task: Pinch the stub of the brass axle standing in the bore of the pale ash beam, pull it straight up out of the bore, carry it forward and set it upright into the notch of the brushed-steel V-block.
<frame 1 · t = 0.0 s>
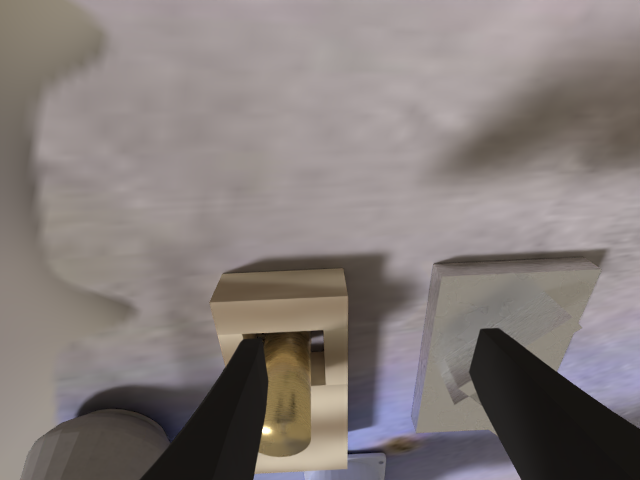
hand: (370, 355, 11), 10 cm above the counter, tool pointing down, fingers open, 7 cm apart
beam: (293, 366, 25), on the counter
v-block: (484, 348, 25), on the counter
coffee pot: (93, 399, 26), on the counter
axle: (289, 328, 23), resting in beam
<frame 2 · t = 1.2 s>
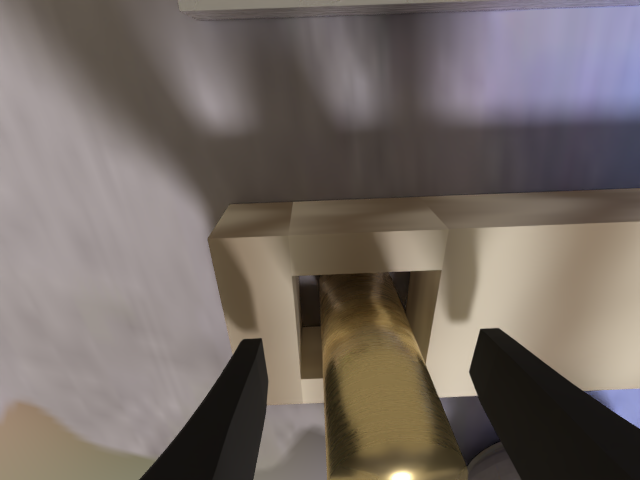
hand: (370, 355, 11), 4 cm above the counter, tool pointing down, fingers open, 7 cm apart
beam: (442, 279, 14), on the counter
coffee pot: (448, 474, 22), on the counter
axle: (354, 282, 14), resting in beam
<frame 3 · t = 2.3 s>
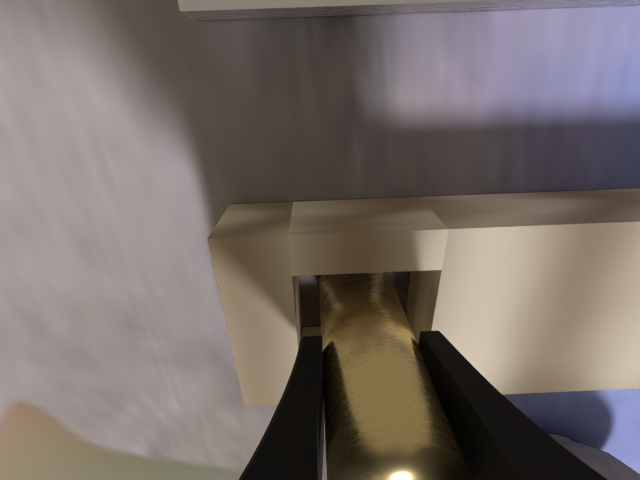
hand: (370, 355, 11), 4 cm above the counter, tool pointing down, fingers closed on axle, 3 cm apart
beam: (442, 279, 14), on the counter
coffee pot: (448, 474, 22), on the counter
axle: (354, 282, 14), resting in beam, touching gripper
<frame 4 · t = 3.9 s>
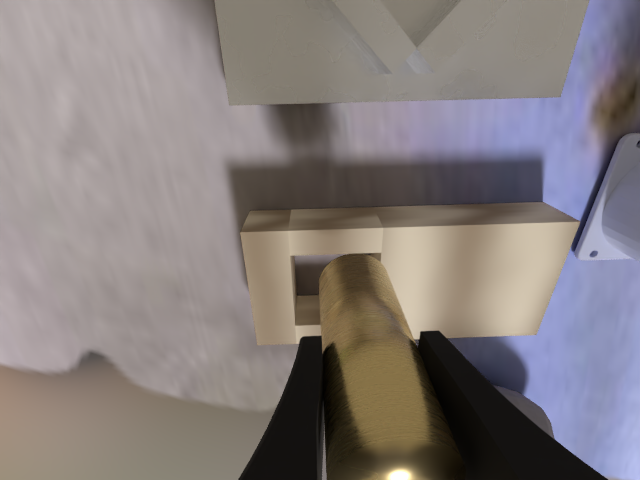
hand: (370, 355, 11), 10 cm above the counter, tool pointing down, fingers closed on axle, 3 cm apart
beam: (392, 262, 21), on the counter
coffee pot: (408, 417, 29), on the counter
axle: (353, 283, 14), point 6 cm above the counter, touching gripper
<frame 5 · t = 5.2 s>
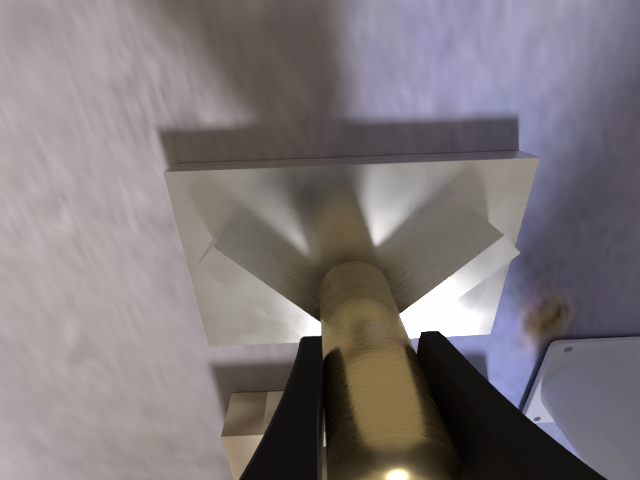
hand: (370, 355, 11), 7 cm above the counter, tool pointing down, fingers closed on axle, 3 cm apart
beam: (359, 423, 24), on the counter
v-block: (347, 250, 17), on the counter
axle: (353, 291, 15), point 3 cm above the counter, touching gripper
when the fingers open (7 cm above the counter, at t = 6.0 s): axle stays where it is, resting on v-block.
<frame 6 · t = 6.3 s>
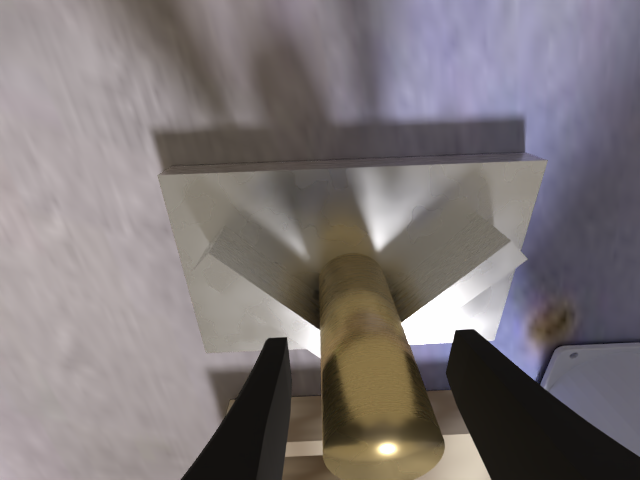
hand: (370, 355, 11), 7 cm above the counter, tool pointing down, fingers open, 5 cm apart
beam: (360, 429, 23), on the counter
v-block: (348, 255, 17), on the counter
axle: (351, 281, 15), point 2 cm above the counter, touching v-block
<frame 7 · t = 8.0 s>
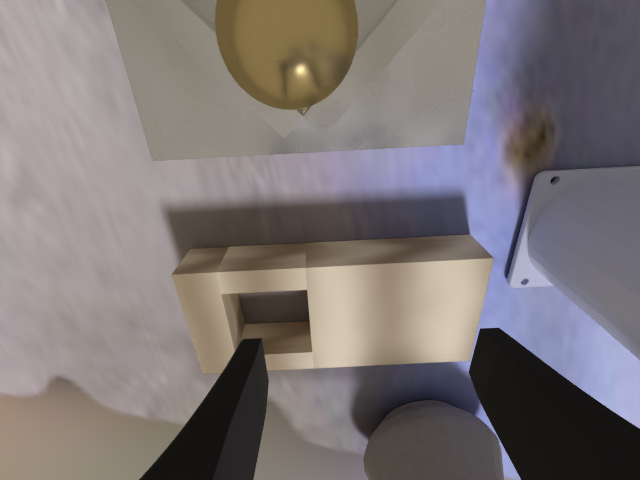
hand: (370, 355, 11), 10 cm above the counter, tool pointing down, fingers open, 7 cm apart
beam: (331, 292, 22), on the counter
v-block: (301, 41, 15), on the counter
coffee pot: (368, 433, 30), on the counter
axle: (300, 54, 14), point 2 cm above the counter, touching v-block
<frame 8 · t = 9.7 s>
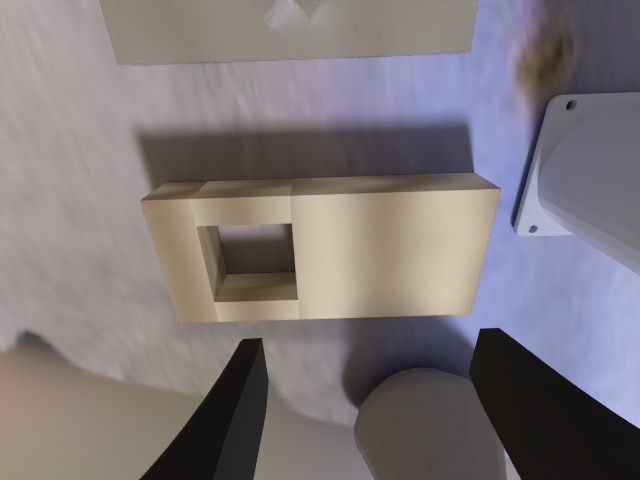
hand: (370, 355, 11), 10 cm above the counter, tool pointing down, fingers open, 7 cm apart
beam: (321, 238, 20), on the counter
coffee pot: (360, 404, 28), on the counter
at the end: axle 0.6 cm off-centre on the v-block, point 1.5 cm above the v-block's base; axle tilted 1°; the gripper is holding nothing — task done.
